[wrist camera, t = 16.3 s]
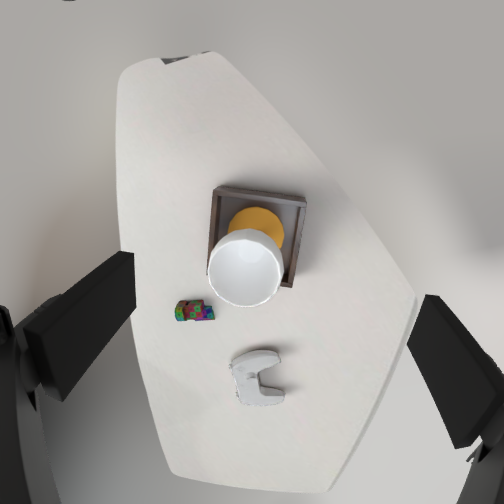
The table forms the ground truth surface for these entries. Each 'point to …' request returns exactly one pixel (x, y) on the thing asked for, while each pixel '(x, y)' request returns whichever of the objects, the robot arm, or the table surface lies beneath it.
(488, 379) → the robot arm
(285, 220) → the holder
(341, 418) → the table surface
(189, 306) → the block
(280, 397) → the game controller
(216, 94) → the table surface
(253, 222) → the cup
